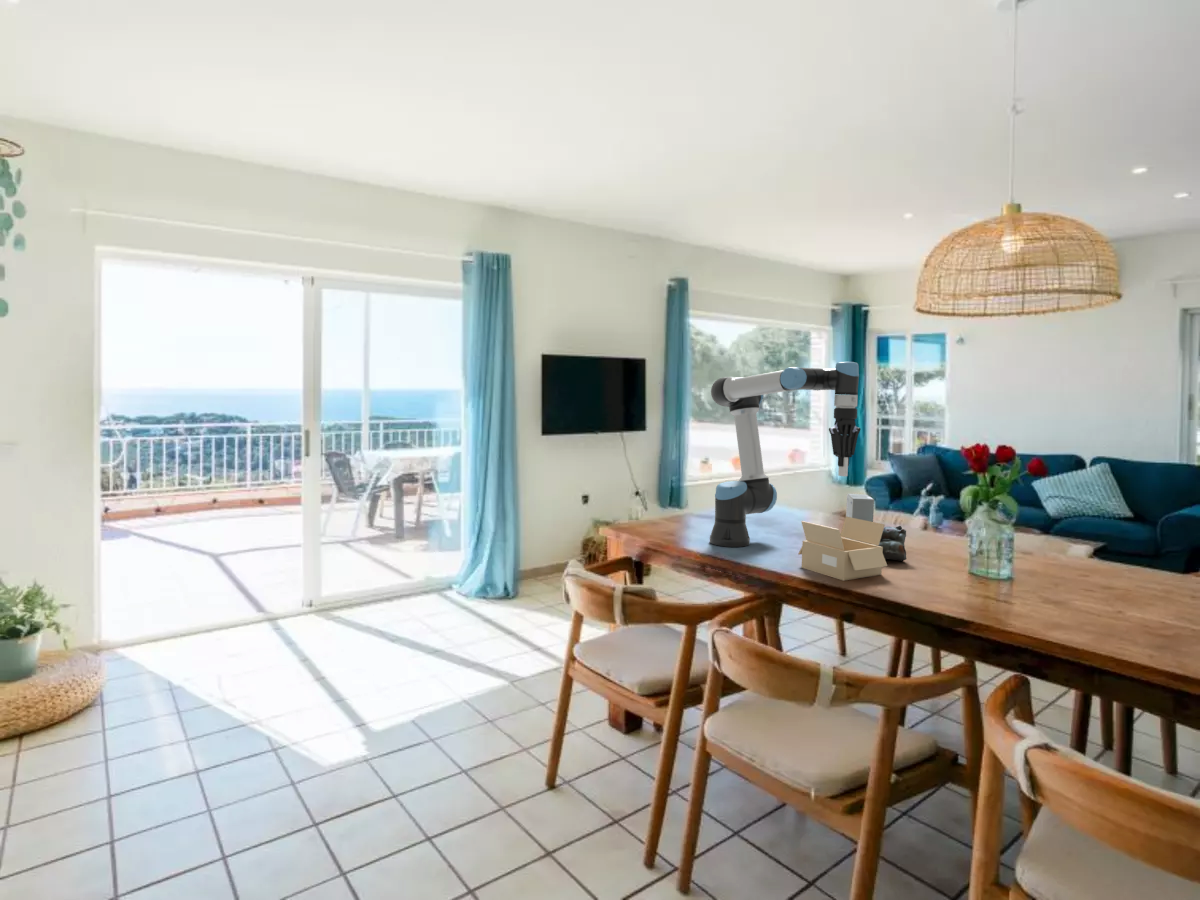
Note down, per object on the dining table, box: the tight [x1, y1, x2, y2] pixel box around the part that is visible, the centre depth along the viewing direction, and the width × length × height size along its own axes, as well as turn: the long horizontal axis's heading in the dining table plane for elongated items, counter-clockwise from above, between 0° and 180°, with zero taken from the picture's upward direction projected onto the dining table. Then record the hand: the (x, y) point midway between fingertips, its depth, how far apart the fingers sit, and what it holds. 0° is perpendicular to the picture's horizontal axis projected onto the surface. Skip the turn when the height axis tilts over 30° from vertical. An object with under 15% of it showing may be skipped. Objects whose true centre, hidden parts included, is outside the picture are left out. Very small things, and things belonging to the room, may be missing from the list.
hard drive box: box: [845, 493, 875, 544], centre depth 263 cm, size 16×8×20 cm, turn 168°
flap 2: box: [840, 516, 886, 545], centre depth 232 cm, size 16×7×1 cm
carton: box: [798, 537, 888, 582], centre depth 229 cm, size 24×17×9 cm
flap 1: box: [801, 520, 844, 550], centre depth 224 cm, size 16×7×1 cm
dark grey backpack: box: [869, 525, 907, 562], centre depth 247 cm, size 15×12×14 cm
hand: (842, 475), depth 243 cm, fingers closed
